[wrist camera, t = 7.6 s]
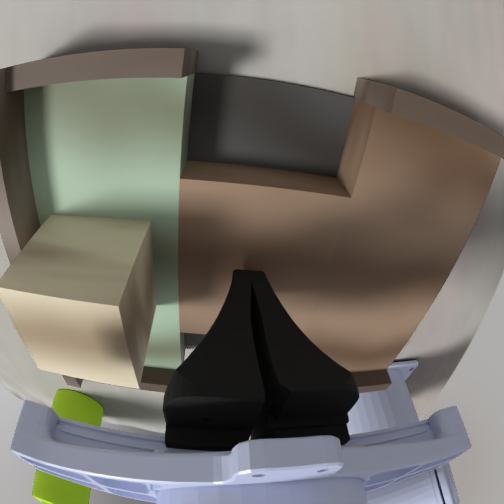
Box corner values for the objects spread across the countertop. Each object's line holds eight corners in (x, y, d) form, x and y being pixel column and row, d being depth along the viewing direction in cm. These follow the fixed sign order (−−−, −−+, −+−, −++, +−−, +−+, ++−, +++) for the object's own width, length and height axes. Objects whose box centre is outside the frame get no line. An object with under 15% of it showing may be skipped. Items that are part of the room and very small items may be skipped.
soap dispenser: (44, 394, 27) (14, 543, 11) (71, 385, 25) (40, 562, 9) (82, 417, 30) (62, 557, 14) (113, 411, 28) (96, 574, 12)
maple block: (156, 305, 15) (139, 388, 11) (71, 294, 15) (38, 368, 11) (151, 220, 13) (118, 306, 9) (51, 214, 12) (-5, 286, 8)
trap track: (372, 352, 23) (388, 397, 20) (84, 336, 21) (68, 384, 17) (478, 124, 13) (532, 153, 9) (37, 62, 10) (-23, 75, 6)
